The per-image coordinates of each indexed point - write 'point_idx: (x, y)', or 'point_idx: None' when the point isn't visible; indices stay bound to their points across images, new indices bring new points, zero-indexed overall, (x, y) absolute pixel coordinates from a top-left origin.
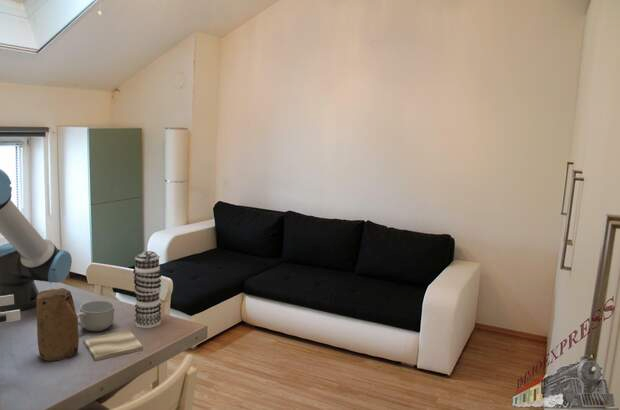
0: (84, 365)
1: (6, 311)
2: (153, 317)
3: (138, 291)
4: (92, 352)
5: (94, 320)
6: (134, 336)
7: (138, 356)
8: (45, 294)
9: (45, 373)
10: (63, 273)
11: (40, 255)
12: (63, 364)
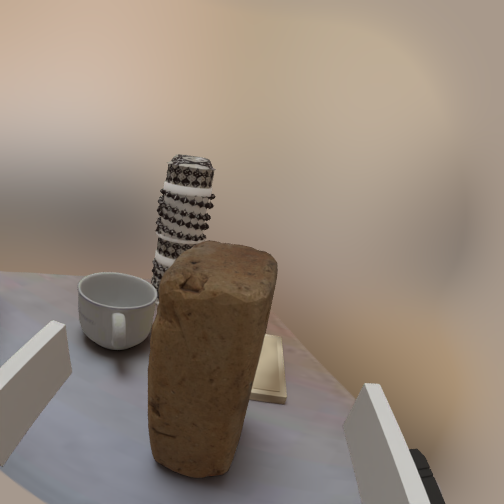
0: (295, 423)
1: (385, 435)
2: None
3: (187, 237)
4: (258, 393)
5: (144, 323)
6: None
7: (302, 355)
8: (236, 274)
9: (294, 494)
10: None
11: None
12: (263, 452)
